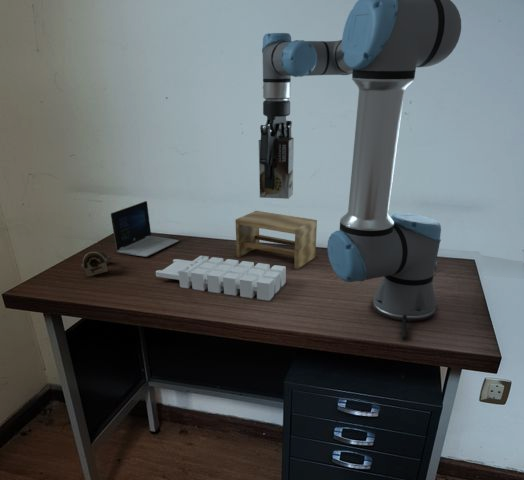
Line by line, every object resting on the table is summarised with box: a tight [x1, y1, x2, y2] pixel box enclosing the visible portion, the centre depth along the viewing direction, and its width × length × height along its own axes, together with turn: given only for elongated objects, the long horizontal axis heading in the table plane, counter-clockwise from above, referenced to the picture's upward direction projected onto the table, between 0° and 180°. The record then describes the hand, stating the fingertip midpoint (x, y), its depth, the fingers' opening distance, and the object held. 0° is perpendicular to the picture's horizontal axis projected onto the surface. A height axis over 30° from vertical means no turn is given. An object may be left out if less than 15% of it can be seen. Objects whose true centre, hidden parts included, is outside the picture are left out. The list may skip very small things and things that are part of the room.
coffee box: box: [258, 137, 294, 200], centre depth 145 cm, size 9×6×16 cm
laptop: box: [110, 200, 180, 258], centre depth 165 cm, size 18×12×13 cm
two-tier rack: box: [234, 210, 318, 270], centre depth 156 cm, size 12×22×12 cm, turn 58°
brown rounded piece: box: [80, 250, 113, 277], centre depth 149 cm, size 7×13×10 cm
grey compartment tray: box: [155, 255, 287, 302], centre depth 140 cm, size 13×5×35 cm
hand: (276, 185), depth 148 cm, fingers closed on coffee box, 7 cm apart
